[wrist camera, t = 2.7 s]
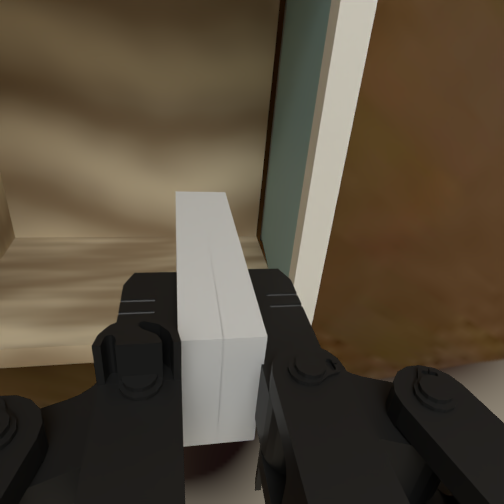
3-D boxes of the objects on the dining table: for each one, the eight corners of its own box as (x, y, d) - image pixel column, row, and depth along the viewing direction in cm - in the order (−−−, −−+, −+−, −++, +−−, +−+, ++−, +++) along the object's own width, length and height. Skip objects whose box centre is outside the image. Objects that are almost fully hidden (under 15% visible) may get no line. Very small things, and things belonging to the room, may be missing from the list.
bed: (-89, -125, 19) (-376, -270, 9) (283, -73, 23) (375, -136, 12) (5, 245, 29) (-83, 373, 19) (252, 243, 33) (289, 350, 23)
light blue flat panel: (288, -52, 23) (358, -108, 12) (309, -49, 23) (398, -102, 12) (258, 236, 32) (282, 355, 21) (273, 236, 32) (305, 355, 21)
